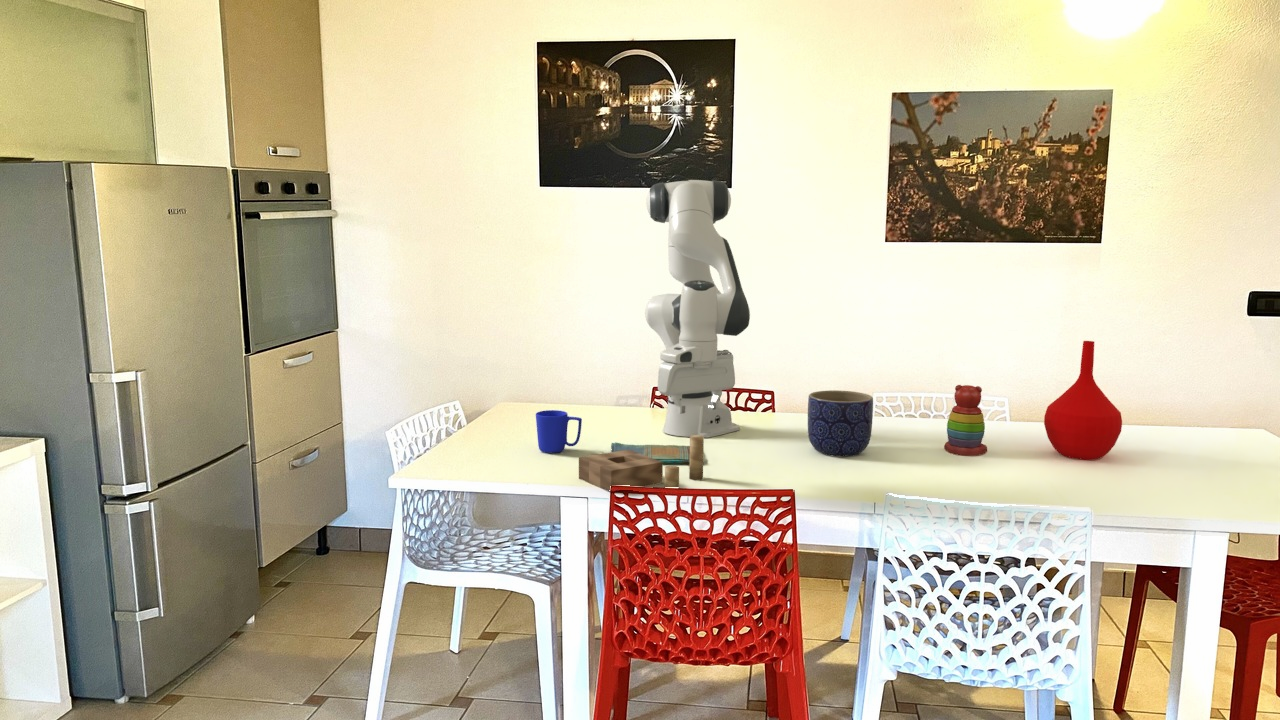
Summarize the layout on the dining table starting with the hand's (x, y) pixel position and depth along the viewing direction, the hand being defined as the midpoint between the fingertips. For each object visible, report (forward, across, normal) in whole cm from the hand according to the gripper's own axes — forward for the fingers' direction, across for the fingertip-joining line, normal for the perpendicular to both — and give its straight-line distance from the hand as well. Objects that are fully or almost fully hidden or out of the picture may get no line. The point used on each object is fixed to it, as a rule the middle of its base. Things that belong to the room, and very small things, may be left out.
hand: (696, 411), depth 225 cm
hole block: (+16, +16, -8) cm, 24 cm away
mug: (+16, +14, -40) cm, 45 cm away
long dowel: (+16, 0, 0) cm, 16 cm away
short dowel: (+16, +10, +4) cm, 19 cm away
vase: (+15, -98, +36) cm, 105 cm away
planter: (+16, -47, 0) cm, 50 cm away
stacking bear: (+16, -75, +18) cm, 79 cm away
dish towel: (+17, -4, -22) cm, 28 cm away
